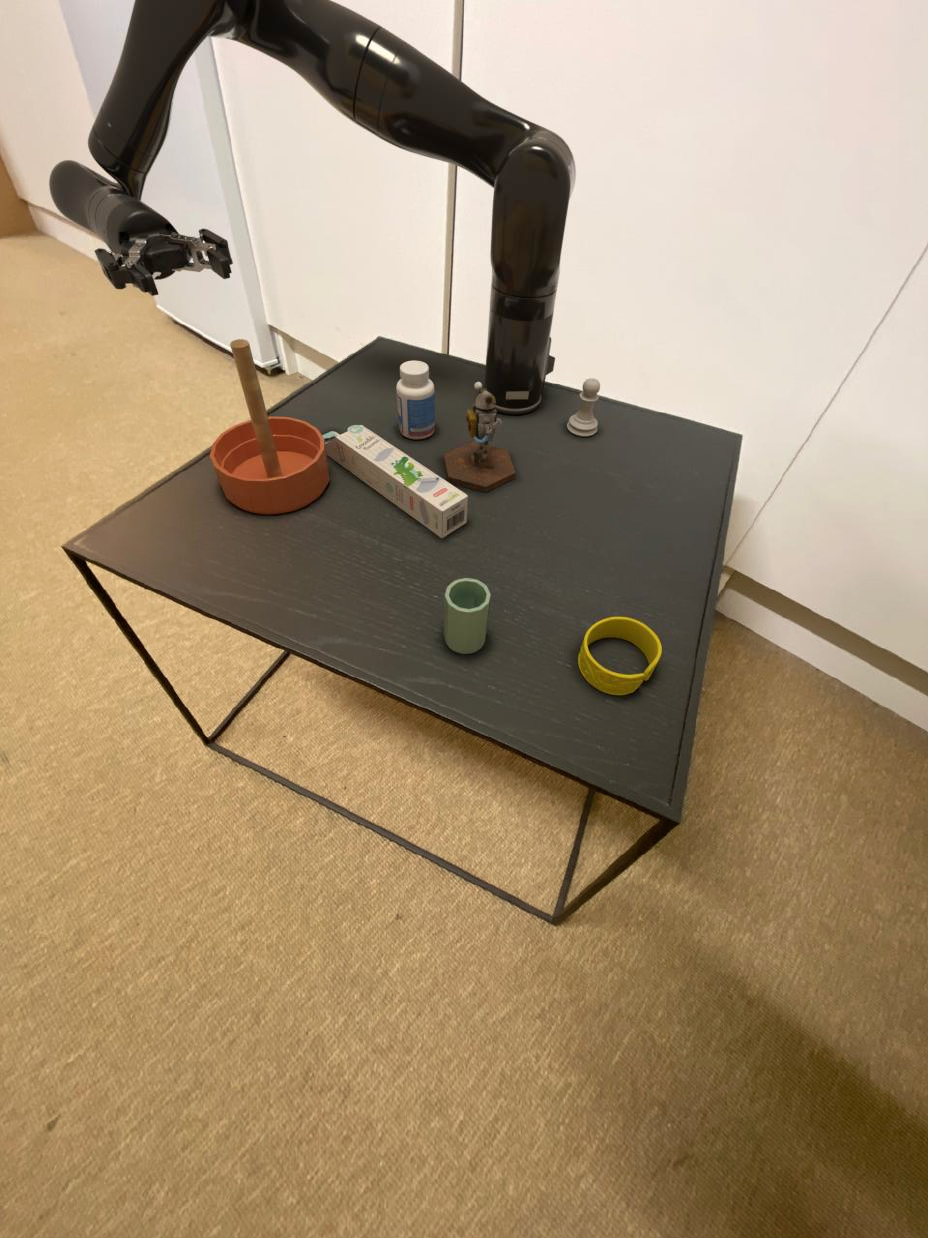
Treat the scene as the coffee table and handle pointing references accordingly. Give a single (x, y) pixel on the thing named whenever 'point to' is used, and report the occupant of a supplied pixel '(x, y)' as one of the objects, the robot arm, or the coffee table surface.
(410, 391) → the pill bottle
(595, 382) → the chess piece
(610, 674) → the bracelet
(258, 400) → the stick
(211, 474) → the coffee table surface
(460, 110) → the robot arm
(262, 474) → the bowl
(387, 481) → the box
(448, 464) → the robot figurine
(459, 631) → the holder
